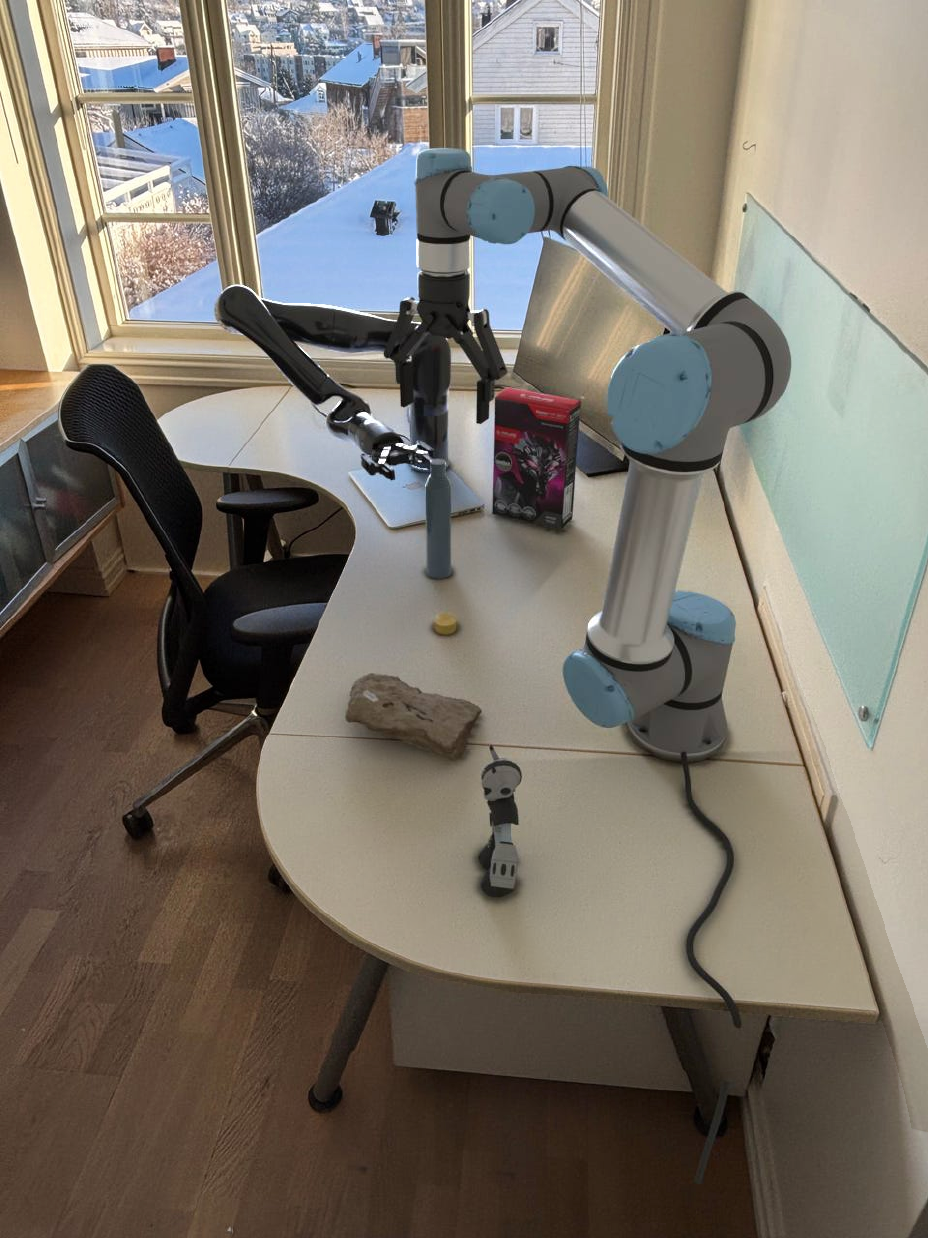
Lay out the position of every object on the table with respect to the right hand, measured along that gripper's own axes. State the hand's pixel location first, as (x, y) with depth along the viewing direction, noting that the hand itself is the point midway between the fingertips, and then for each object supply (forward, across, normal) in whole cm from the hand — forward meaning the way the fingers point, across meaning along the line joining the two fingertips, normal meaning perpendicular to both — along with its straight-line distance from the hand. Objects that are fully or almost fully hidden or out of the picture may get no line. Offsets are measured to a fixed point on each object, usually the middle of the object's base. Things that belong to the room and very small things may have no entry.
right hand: (444, 412), depth 143 cm
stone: (+41, -9, +26) cm, 49 cm away
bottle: (+41, +11, -16) cm, 45 cm away
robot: (+41, -34, +45) cm, 70 cm away
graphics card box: (+41, +5, -46) cm, 62 cm away
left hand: (+24, +20, -22) cm, 38 cm away
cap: (+39, 0, 0) cm, 39 cm away
